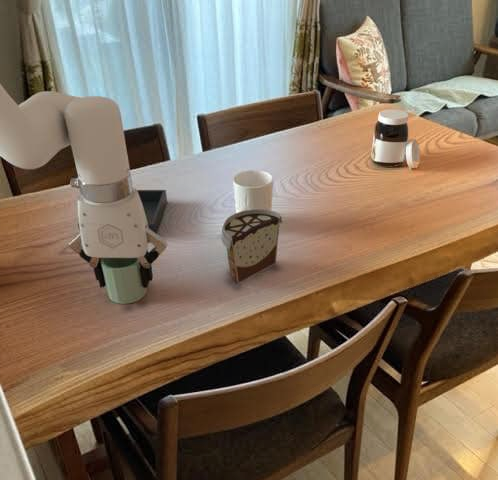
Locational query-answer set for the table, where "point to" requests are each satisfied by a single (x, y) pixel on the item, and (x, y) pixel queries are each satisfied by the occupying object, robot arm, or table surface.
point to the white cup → (253, 190)
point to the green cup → (123, 279)
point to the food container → (251, 242)
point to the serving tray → (153, 207)
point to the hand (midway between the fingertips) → (125, 282)
